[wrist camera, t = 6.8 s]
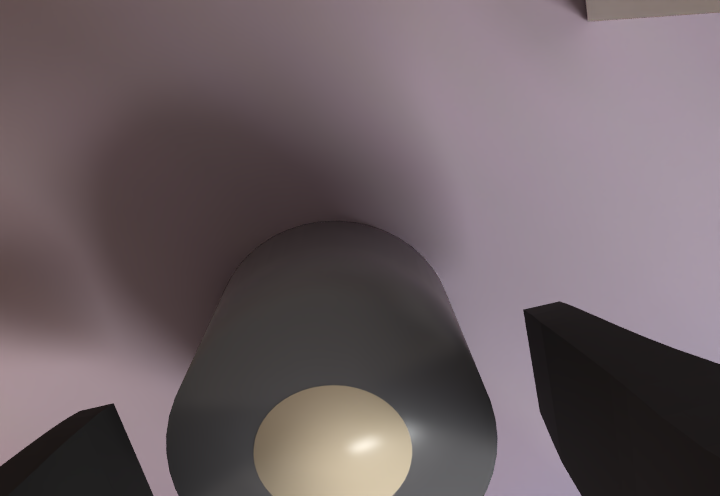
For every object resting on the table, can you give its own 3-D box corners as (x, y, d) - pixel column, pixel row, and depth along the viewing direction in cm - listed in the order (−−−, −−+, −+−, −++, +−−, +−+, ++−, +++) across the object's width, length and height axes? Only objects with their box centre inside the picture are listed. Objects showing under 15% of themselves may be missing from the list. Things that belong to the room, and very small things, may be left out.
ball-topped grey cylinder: (426, 195, 12) (466, 267, 8) (470, 405, 14) (519, 546, 10) (185, 251, 12) (116, 348, 9) (255, 451, 14) (223, 607, 10)
